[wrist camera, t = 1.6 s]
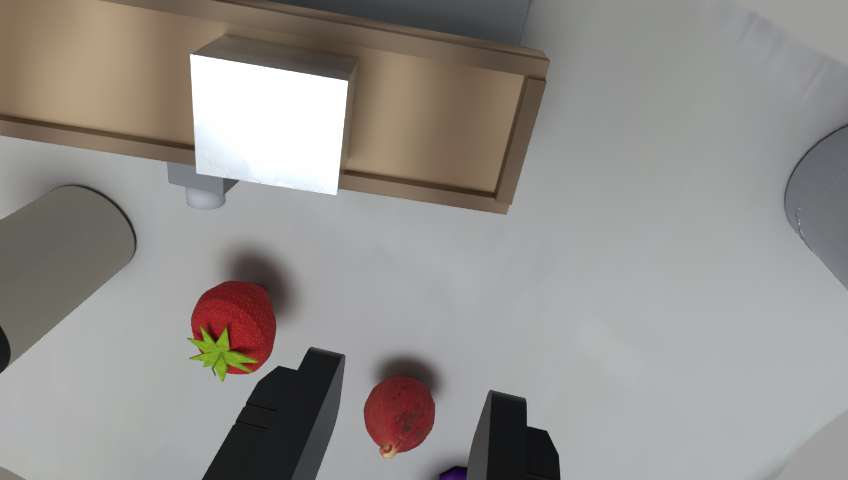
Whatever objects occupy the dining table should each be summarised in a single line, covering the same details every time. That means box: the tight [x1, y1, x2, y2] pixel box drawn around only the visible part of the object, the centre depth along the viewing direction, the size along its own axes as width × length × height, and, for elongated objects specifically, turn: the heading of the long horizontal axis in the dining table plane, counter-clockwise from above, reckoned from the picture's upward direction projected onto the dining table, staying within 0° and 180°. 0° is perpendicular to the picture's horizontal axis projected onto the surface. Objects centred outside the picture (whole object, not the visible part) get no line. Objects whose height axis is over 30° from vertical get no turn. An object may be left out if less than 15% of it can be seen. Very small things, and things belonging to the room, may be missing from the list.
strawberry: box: [187, 281, 276, 382], centre depth 42 cm, size 6×8×10 cm
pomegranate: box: [364, 376, 435, 459], centre depth 45 cm, size 6×6×8 cm
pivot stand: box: [167, 0, 530, 210], centre depth 31 cm, size 30×14×11 cm, turn 80°
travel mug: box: [0, 186, 135, 373], centre depth 38 cm, size 8×8×18 cm
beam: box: [0, 0, 550, 215], centre depth 25 cm, size 32×8×3 cm, turn 80°
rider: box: [190, 34, 359, 195], centre depth 24 cm, size 6×5×4 cm
